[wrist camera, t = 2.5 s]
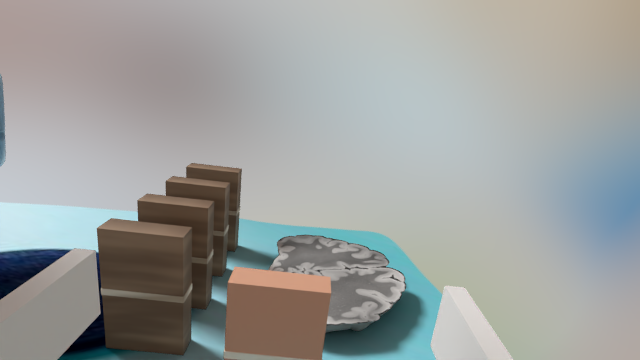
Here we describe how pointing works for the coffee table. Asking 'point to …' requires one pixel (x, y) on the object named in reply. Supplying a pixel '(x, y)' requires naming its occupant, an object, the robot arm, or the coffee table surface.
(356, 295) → the brain slice
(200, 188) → the domino
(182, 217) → the domino
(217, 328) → the coffee table surface
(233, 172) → the domino
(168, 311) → the domino
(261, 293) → the domino
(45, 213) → the coffee table surface
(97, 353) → the coffee table surface
